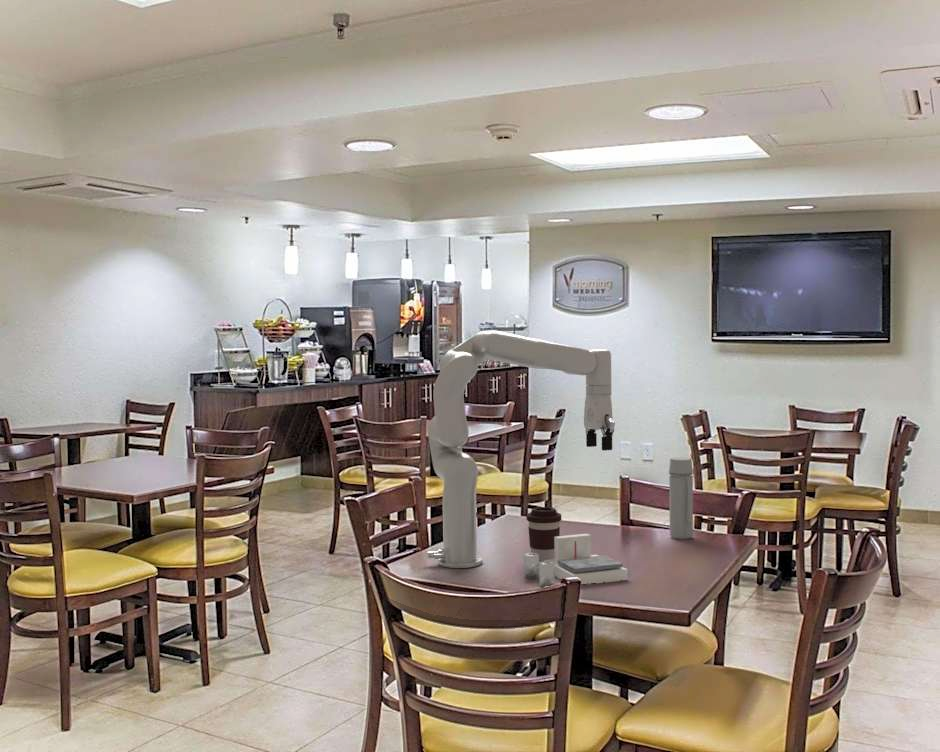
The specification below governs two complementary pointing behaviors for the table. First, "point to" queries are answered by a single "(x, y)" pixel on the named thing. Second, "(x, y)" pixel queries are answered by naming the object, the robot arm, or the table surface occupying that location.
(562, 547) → the scale body
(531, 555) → the glass jar
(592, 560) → the grey flat plate
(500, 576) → the table surface
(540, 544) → the coffee cup
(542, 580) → the spacer
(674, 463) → the water bottle
